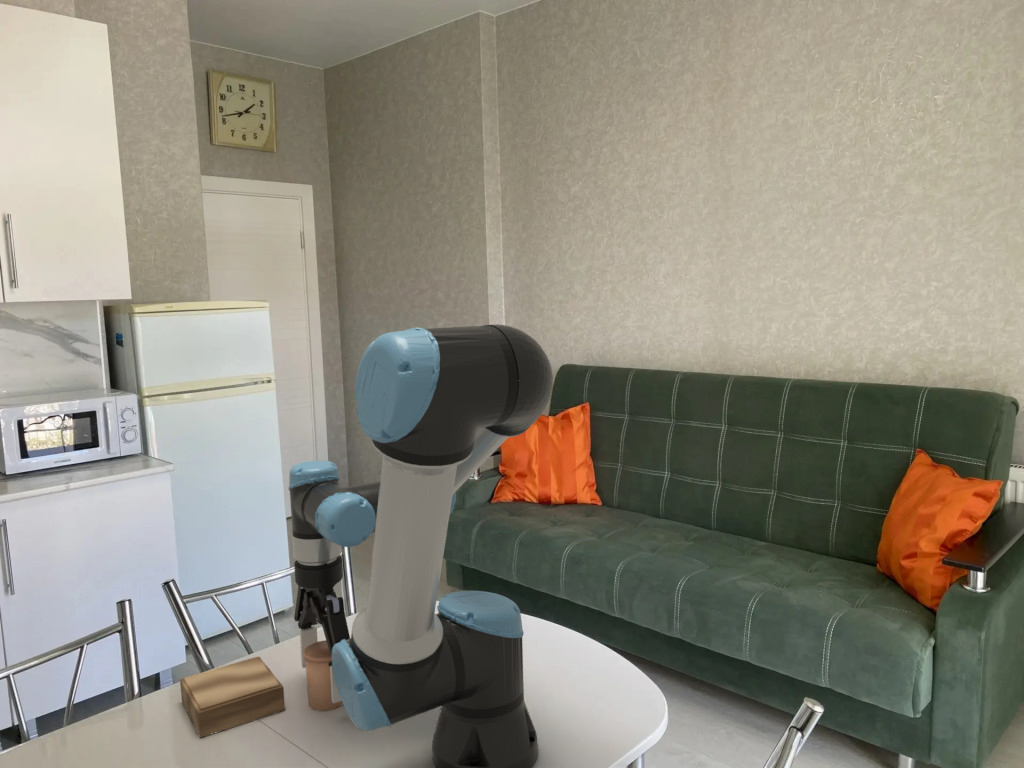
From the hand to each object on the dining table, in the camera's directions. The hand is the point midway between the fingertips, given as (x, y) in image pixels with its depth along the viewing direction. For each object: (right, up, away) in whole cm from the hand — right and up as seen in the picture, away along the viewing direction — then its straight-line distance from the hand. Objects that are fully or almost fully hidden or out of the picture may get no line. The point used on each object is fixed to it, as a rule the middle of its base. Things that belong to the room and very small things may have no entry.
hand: (325, 681), depth 127 cm
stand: (-15, -4, -1) cm, 15 cm away
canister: (0, -3, 0) cm, 3 cm away
